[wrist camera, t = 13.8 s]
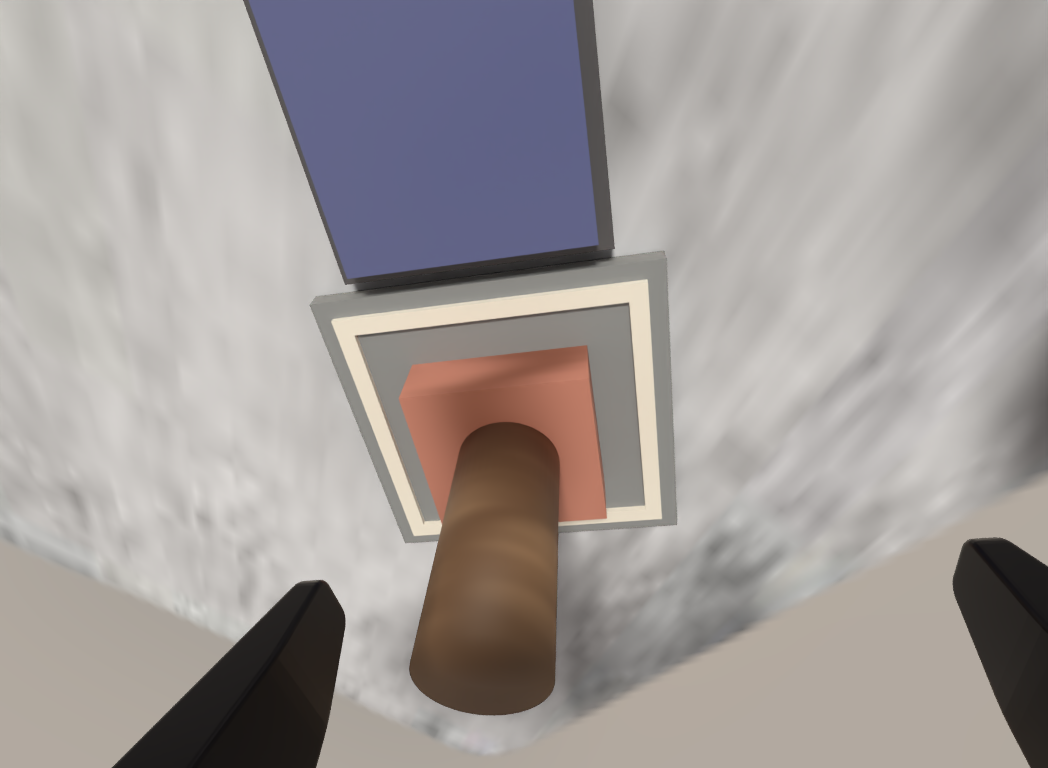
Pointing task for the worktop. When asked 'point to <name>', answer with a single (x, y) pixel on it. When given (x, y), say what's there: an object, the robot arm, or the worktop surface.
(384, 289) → the marked board
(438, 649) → the stamp
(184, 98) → the worktop surface
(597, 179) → the ink pad
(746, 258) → the worktop surface
